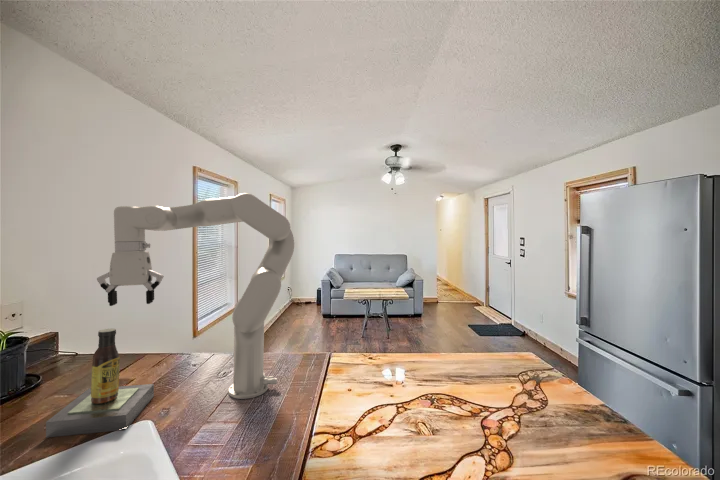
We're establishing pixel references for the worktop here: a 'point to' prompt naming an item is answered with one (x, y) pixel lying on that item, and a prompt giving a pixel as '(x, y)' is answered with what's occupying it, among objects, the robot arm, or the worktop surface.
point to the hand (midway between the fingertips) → (131, 303)
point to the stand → (100, 412)
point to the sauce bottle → (105, 368)
